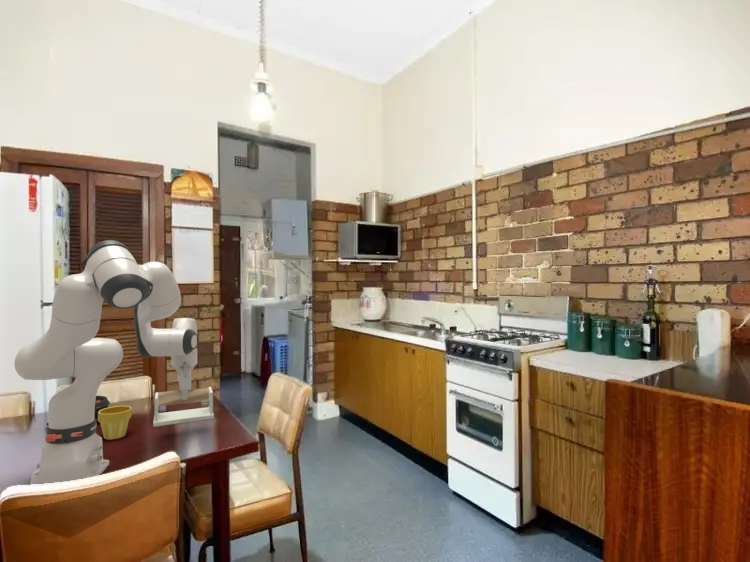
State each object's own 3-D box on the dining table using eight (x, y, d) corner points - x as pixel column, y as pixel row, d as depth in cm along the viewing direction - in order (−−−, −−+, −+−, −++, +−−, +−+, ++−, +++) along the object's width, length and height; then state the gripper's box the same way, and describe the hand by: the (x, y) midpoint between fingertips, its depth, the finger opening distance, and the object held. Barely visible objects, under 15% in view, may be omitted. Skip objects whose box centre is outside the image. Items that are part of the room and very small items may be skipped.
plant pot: (121, 429, 155) (122, 403, 155) (137, 434, 150) (137, 407, 150) (91, 438, 146) (92, 411, 146) (107, 444, 141) (107, 415, 141)
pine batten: (209, 400, 154) (209, 390, 154) (158, 406, 147) (158, 395, 147) (208, 398, 157) (208, 387, 157) (158, 403, 150) (159, 392, 150)
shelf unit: (213, 418, 168) (214, 393, 168) (153, 426, 158) (153, 399, 158) (211, 410, 178) (211, 386, 178) (154, 417, 169) (154, 392, 169)
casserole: (66, 435, 149) (66, 412, 149) (34, 428, 156) (35, 406, 156) (130, 414, 172) (130, 395, 172) (100, 409, 179) (100, 390, 179)
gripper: (195, 364, 144) (195, 403, 144) (192, 355, 163) (191, 390, 162) (175, 366, 142) (175, 405, 141) (174, 356, 160) (174, 392, 160)
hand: (184, 397), depth 152 cm, fingers closed on pine batten, 4 cm apart
